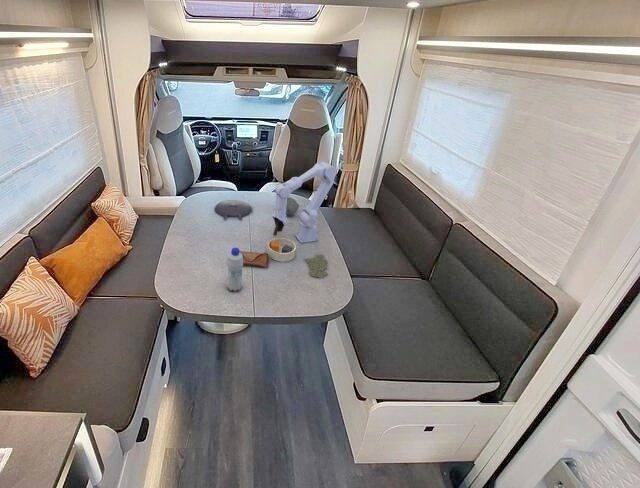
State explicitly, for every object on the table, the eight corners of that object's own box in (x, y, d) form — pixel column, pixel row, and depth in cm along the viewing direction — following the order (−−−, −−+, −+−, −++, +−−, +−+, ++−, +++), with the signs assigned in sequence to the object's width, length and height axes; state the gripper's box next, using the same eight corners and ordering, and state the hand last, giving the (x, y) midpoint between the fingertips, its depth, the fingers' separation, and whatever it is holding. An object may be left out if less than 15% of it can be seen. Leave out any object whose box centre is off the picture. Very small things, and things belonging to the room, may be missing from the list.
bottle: (226, 282, 137) (226, 244, 130) (241, 282, 138) (242, 243, 130) (227, 293, 131) (227, 253, 123) (243, 292, 132) (244, 253, 124)
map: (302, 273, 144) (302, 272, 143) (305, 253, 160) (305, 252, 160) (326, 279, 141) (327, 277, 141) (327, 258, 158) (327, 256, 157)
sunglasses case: (230, 265, 148) (231, 250, 149) (231, 263, 155) (232, 250, 156) (268, 268, 147) (269, 253, 148) (267, 266, 154) (268, 252, 155)
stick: (276, 236, 165) (281, 221, 162) (272, 235, 165) (277, 220, 162) (276, 234, 167) (281, 220, 164) (273, 233, 167) (277, 218, 164)
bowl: (288, 244, 167) (288, 236, 165) (299, 259, 154) (300, 251, 153) (263, 247, 163) (263, 239, 161) (273, 264, 151) (273, 255, 149)
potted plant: (289, 216, 189) (269, 203, 195) (292, 221, 200) (273, 209, 206) (300, 200, 190) (280, 188, 196) (302, 205, 202) (283, 194, 208)
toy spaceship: (252, 222, 188) (252, 217, 187) (212, 220, 188) (212, 216, 187) (251, 201, 214) (251, 197, 213) (216, 200, 214) (216, 196, 213)
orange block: (271, 247, 163) (271, 241, 161) (278, 248, 162) (279, 242, 160) (270, 252, 159) (270, 245, 157) (278, 253, 158) (278, 246, 157)
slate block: (284, 251, 160) (284, 244, 158) (291, 253, 158) (292, 247, 156) (281, 255, 157) (281, 248, 155) (288, 257, 155) (289, 251, 153)
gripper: (268, 201, 165) (267, 224, 171) (279, 214, 153) (277, 238, 158) (280, 200, 167) (278, 222, 173) (292, 212, 155) (289, 236, 160)
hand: (278, 230), depth 165 cm, fingers closed on stick, 2 cm apart
